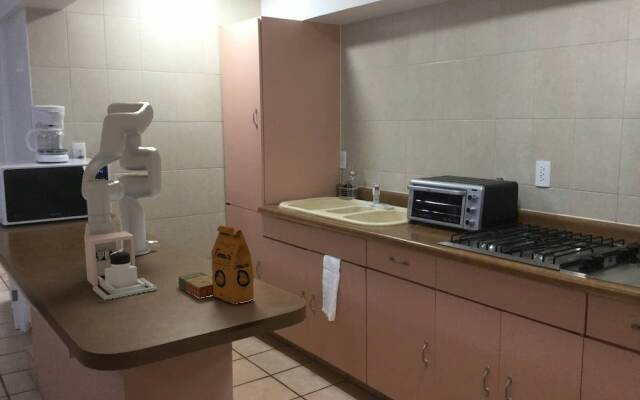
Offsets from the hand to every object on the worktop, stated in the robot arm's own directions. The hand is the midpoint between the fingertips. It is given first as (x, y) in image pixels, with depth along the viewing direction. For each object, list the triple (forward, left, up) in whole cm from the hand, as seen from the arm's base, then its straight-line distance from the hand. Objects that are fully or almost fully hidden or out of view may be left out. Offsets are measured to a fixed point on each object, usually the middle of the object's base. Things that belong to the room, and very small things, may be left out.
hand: (103, 270), depth 198 cm
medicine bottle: (0, +21, -2) cm, 21 cm away
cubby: (0, +10, -1) cm, 10 cm away
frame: (0, +24, -1) cm, 24 cm away
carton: (-19, +39, -2) cm, 43 cm away
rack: (0, +15, -1) cm, 15 cm away
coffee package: (-23, +53, -2) cm, 58 cm away
